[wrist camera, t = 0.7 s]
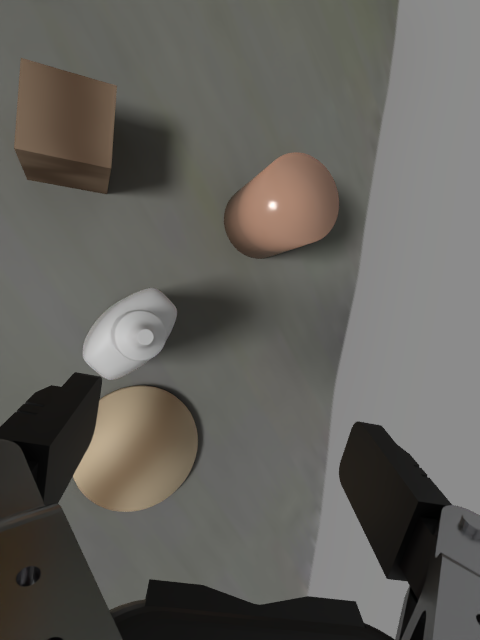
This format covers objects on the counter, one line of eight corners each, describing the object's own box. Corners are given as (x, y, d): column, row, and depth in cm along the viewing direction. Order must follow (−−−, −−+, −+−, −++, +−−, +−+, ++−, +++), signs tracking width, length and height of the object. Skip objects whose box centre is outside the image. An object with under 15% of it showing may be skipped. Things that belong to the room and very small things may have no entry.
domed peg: (212, 237, 30) (247, 214, 23) (240, 173, 31) (282, 134, 24) (273, 270, 32) (321, 258, 25) (297, 210, 33) (350, 183, 26)
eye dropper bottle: (71, 311, 26) (59, 306, 15) (150, 290, 28) (192, 272, 17) (90, 370, 26) (93, 408, 15) (166, 345, 28) (218, 363, 17)
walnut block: (27, 180, 25) (14, 148, 20) (33, 106, 25) (20, 58, 20) (106, 194, 27) (111, 168, 22) (111, 125, 27) (116, 85, 22)
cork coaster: (47, 491, 25) (46, 495, 25) (103, 367, 27) (104, 368, 26) (168, 519, 28) (169, 523, 28) (213, 407, 30) (215, 409, 29)
